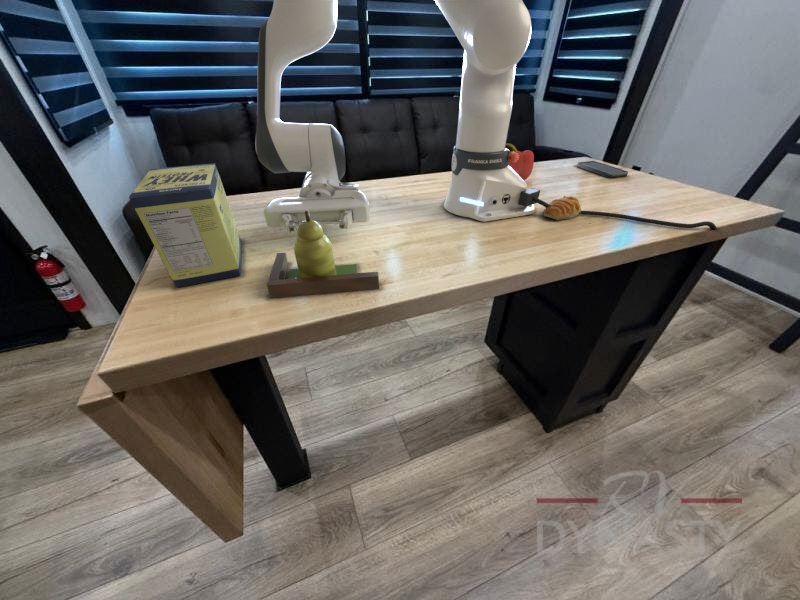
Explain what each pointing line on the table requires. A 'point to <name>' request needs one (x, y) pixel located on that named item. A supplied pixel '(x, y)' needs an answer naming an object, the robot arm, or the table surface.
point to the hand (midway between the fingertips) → (317, 227)
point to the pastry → (563, 208)
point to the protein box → (189, 223)
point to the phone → (602, 169)
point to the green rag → (339, 269)
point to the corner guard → (316, 282)
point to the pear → (313, 250)
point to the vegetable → (522, 162)
